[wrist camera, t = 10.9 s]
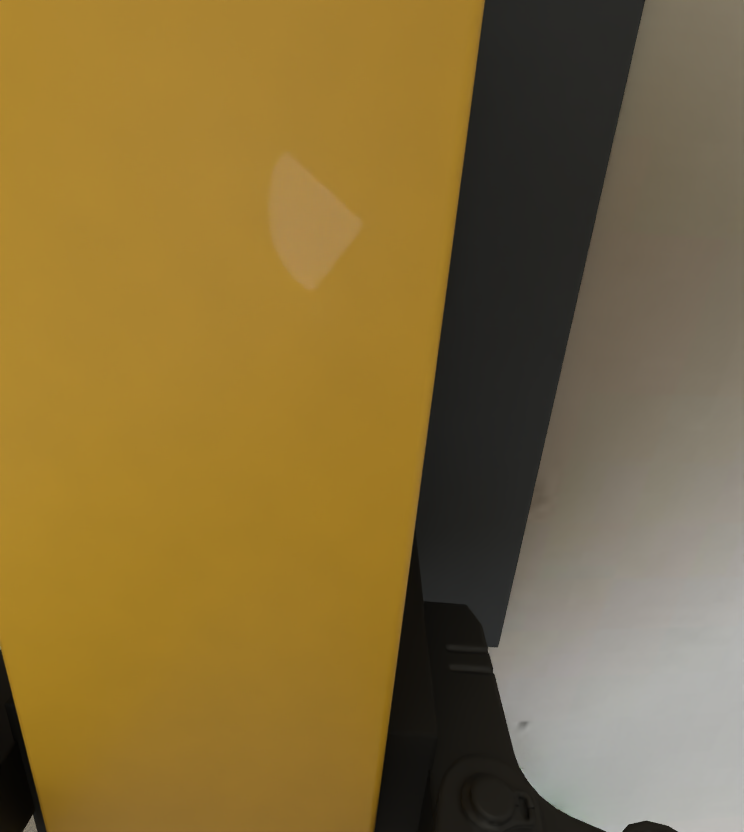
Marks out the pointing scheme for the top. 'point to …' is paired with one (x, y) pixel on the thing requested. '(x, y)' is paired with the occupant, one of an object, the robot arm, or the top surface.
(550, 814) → the robot arm
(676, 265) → the top surface
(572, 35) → the mat
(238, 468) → the bar
